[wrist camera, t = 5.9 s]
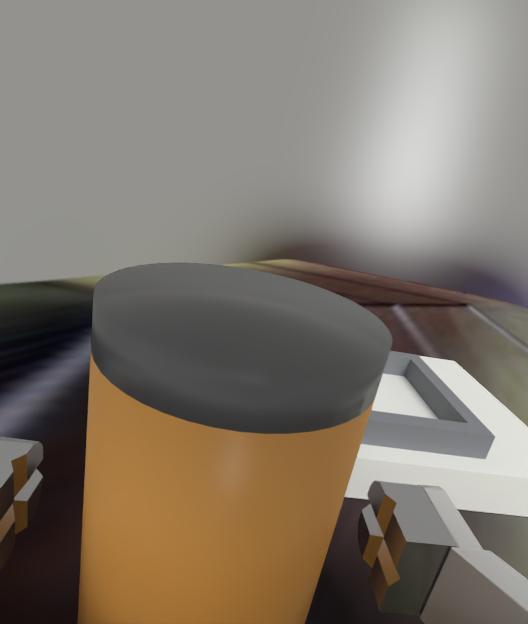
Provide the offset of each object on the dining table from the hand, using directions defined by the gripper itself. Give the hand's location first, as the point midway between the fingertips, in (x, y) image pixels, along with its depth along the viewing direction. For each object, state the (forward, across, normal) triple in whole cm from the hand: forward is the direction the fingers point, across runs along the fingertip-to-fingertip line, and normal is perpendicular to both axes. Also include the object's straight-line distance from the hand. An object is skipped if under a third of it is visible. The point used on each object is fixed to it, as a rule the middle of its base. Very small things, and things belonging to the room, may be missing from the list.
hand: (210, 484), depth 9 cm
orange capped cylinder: (-1, 0, +6) cm, 6 cm away
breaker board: (+12, -6, +6) cm, 15 cm away
